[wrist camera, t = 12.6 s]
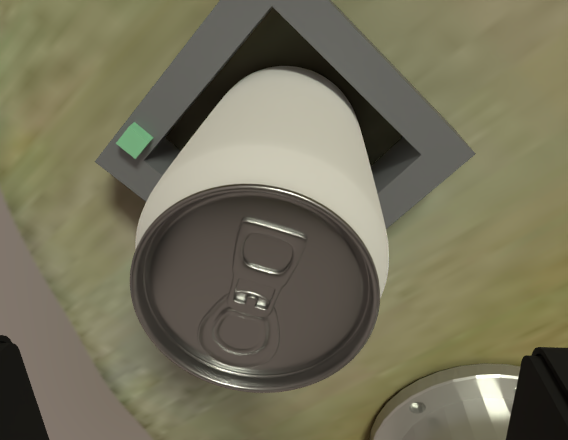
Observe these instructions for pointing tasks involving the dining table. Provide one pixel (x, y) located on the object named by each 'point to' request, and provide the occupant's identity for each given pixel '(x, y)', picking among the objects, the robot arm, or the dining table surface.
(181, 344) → the can
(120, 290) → the dining table surface
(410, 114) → the gray square frame
